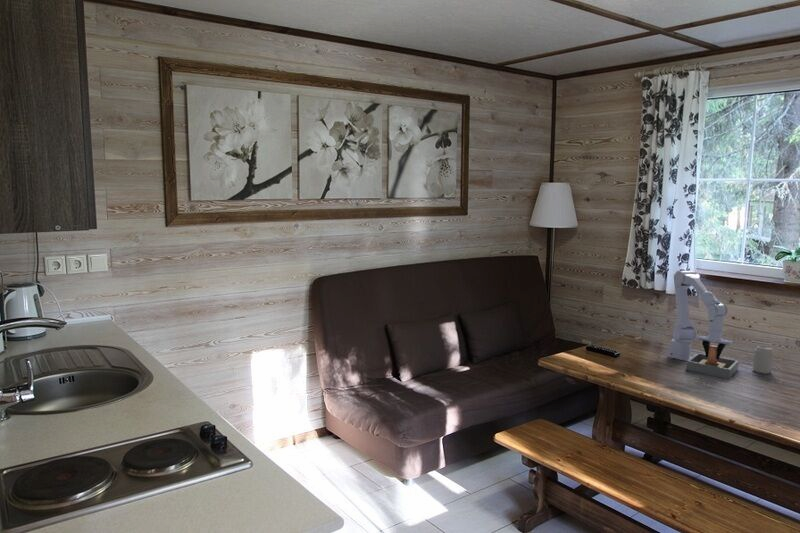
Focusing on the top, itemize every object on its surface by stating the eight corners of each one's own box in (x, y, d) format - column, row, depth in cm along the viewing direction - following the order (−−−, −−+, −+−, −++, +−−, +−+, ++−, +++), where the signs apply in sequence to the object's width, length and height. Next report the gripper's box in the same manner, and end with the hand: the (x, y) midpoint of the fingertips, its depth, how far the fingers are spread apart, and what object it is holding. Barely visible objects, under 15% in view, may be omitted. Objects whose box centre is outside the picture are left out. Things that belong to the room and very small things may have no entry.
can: (766, 369, 281) (768, 345, 279) (774, 374, 274) (777, 349, 272) (749, 368, 282) (752, 344, 280) (757, 374, 275) (760, 348, 273)
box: (686, 370, 278) (687, 360, 277) (696, 361, 291) (697, 352, 291) (729, 379, 266) (730, 369, 266) (737, 369, 280) (738, 360, 279)
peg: (706, 362, 276) (707, 346, 275) (708, 361, 280) (710, 344, 278) (715, 364, 274) (717, 347, 273) (717, 363, 277) (719, 346, 276)
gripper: (696, 328, 276) (693, 356, 278) (730, 334, 267) (727, 363, 269) (700, 325, 281) (697, 353, 283) (734, 331, 272) (731, 359, 274)
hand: (712, 357), depth 276 cm, fingers closed on peg, 4 cm apart
